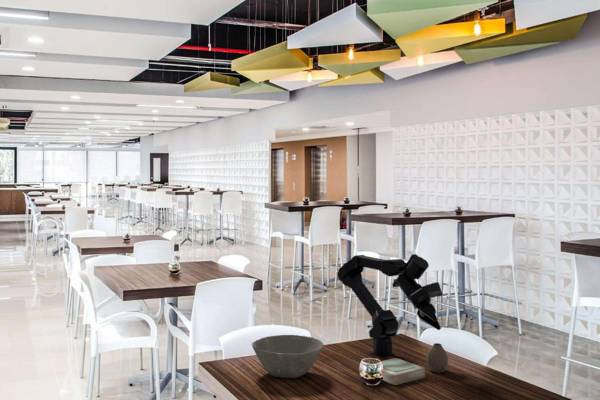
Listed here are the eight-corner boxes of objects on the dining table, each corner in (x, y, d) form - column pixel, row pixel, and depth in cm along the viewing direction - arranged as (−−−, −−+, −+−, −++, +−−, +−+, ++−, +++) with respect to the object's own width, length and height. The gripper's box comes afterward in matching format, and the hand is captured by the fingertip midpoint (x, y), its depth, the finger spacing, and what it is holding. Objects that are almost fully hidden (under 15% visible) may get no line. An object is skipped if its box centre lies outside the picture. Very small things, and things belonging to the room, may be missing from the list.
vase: (448, 374, 179) (449, 347, 179) (426, 373, 181) (427, 346, 180) (447, 368, 186) (447, 342, 186) (426, 366, 187) (426, 340, 187)
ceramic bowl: (254, 363, 190) (254, 334, 190) (321, 364, 190) (322, 334, 190) (248, 386, 167) (248, 353, 167) (325, 386, 168) (325, 353, 168)
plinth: (366, 373, 180) (366, 363, 180) (395, 366, 187) (395, 357, 187) (395, 385, 169) (395, 374, 169) (425, 377, 176) (425, 367, 176)
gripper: (426, 264, 184) (455, 300, 174) (434, 285, 198) (461, 320, 189) (398, 283, 183) (426, 320, 174) (408, 303, 198) (434, 338, 189)
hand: (438, 324), depth 182 cm, fingers open, 9 cm apart
